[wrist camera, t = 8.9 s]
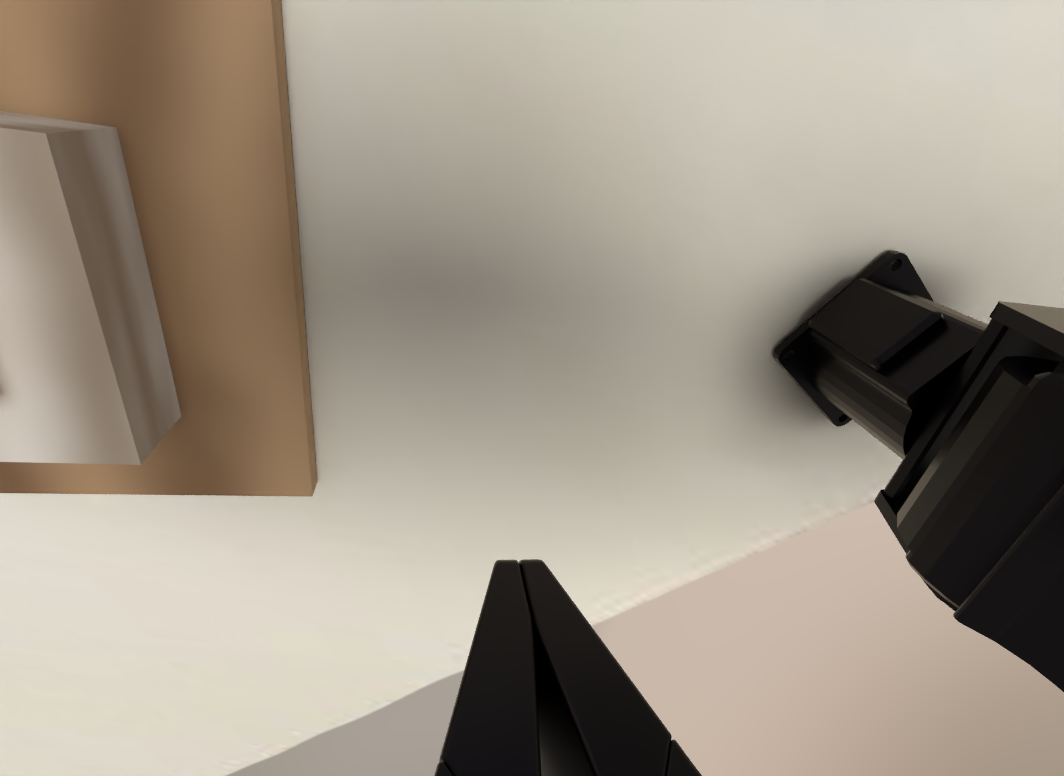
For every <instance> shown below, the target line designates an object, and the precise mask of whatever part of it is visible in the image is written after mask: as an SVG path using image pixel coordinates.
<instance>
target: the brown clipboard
mask: <svg viewBox="0 0 1064 776" xmlns="http://www.w3.org/2000/svg"><path fill="white" fill-rule="evenodd" d="M316 484H317V472H316V458H315V445H314V432H313V419H312V406H311V392H310V379H309V366H308V353H307V340H306V326H305V313H304V300H303V287H302V273H301V260H300V247H299V234H298V221H297V207H296V194H295V181H294V168H293V155H292V141H291V128H290V115H289V102H288V88H287V75H286V62H285V49H284V36H283V22H282V9H281V0H0V493H55V494H146V495H237V496H313V493H314V490H315V487H316Z"/></svg>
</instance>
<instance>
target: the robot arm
mask: <svg viewBox="0 0 1064 776" xmlns="http://www.w3.org/2000/svg"><path fill="white" fill-rule="evenodd" d="M894 260H895V262H894V264H893V265H892V266H891V264H892V262H893V261H894ZM890 266H891V267H890ZM990 317H991V318H992V319H991V321H990V323H989V324H985V323H983V322H981V321H978V320H976V319H973V318H971V317H969V316H966V315H964V314H961V313H959V312H957V311H954V310H952V309H950V308H947V307H945V306H942V305H940V304H938V303H935V302H934V301H933V300H932V298H931V296H930V294H929V293H928V291H927V289H926V288H925V286H924V284H923V283H922V281H921V279H920V277H919V276H918V274H917V272H916V271H915V269H914V267H913V266H912V264H911V262H910V260H909V259H908V257H907V256H906V255H905V254H904V253H901V252H898V251H889V252H887V253H886V254H884V255H883V256H882V257H881V258H880V259H879V260H877V261H876V262H875V263H874V264H873V265H872V266H870V267H869V268H868V269H867V270H866V271H865V272H863V273H862V274H861V275H860V276H859V277H858V278H856V279H855V280H854V281H853V282H852V283H851V284H849V285H848V286H847V287H846V288H845V289H844V290H842V291H841V292H840V293H839V294H838V295H837V296H835V297H834V298H833V299H832V300H831V301H830V302H828V303H827V304H826V305H825V306H824V307H823V308H821V309H820V310H819V311H818V312H817V313H816V314H814V315H813V316H812V317H811V318H810V319H809V320H807V321H806V322H805V323H804V324H803V325H802V326H800V327H799V328H798V329H797V330H796V331H795V332H793V333H792V334H791V335H790V336H789V337H788V338H786V339H785V340H784V341H783V342H782V343H781V344H779V345H778V346H777V348H776V349H775V351H774V358H775V360H776V361H777V362H778V363H779V364H780V365H781V366H782V368H783V369H784V370H785V371H786V372H787V373H788V374H789V375H790V377H791V378H792V379H793V380H794V381H795V382H796V383H797V384H798V386H799V387H800V388H801V389H802V390H803V391H804V392H805V393H806V395H807V396H808V397H809V398H810V399H811V400H812V401H813V402H814V404H815V405H816V406H817V407H818V408H819V409H820V410H821V411H822V413H823V414H824V415H825V416H826V417H827V418H828V419H829V420H830V421H831V422H832V423H833V424H834V425H836V426H843V425H845V424H847V423H848V422H850V421H851V420H852V419H853V420H854V421H855V422H856V423H858V424H859V425H860V426H861V427H863V428H864V429H865V430H866V431H868V432H869V433H870V434H872V435H873V436H874V437H875V438H877V439H878V440H879V441H880V442H882V443H883V444H884V445H885V446H887V447H888V448H889V449H890V450H892V451H893V452H894V453H896V454H897V455H898V456H899V457H901V458H902V459H903V461H902V462H901V464H900V465H899V467H898V469H897V470H896V472H895V473H894V475H893V477H892V478H891V480H890V481H889V483H888V484H887V486H886V488H885V489H884V490H881V491H880V492H879V494H878V495H877V497H876V499H875V500H874V502H875V504H876V505H877V507H878V508H879V510H880V512H881V513H882V515H883V517H884V518H885V520H886V521H887V523H888V525H889V526H890V528H891V530H892V531H893V533H894V534H895V536H896V538H897V539H898V541H899V543H900V544H901V546H902V547H903V549H904V551H905V552H906V558H907V560H908V562H909V564H910V566H911V567H912V568H913V569H914V570H915V571H916V572H917V573H918V575H919V576H920V577H921V578H922V579H923V581H924V582H925V583H926V585H927V586H928V587H929V589H930V590H932V592H933V593H934V594H935V595H936V597H937V598H939V599H940V600H941V601H943V602H944V603H946V604H947V605H948V606H949V607H950V608H952V609H953V610H954V611H956V612H955V613H954V617H955V619H956V620H958V621H959V622H960V623H962V624H963V625H965V626H967V627H969V628H971V629H973V630H975V631H976V632H978V633H980V634H982V635H984V636H986V637H988V638H989V639H991V640H993V641H995V642H997V643H998V644H1000V645H1001V646H1003V647H1004V648H1006V649H1007V650H1009V651H1010V652H1012V653H1013V654H1015V655H1016V656H1018V657H1019V658H1021V659H1022V660H1024V661H1025V662H1027V663H1028V664H1030V665H1031V666H1032V667H1033V668H1035V669H1036V670H1037V671H1038V672H1040V673H1041V674H1042V675H1043V676H1045V677H1046V678H1047V679H1049V680H1050V681H1051V682H1052V683H1054V684H1055V685H1056V686H1057V687H1058V688H1060V689H1061V690H1062V691H1063V692H1064V309H1063V308H1054V307H1045V306H1036V305H1028V304H1019V303H1010V302H1001V301H999V302H998V304H997V305H996V307H995V309H994V310H993V312H992V313H991V315H990ZM787 351H789V353H788V354H787V355H786V356H784V354H785V353H786V352H787ZM434 776H702V775H701V774H700V773H699V771H698V770H697V769H696V767H695V766H694V765H693V764H692V762H691V761H690V759H689V758H688V757H687V755H686V754H685V753H684V751H683V750H682V749H681V747H680V746H679V744H678V743H677V742H676V741H675V740H671V734H670V732H669V731H668V730H667V728H666V727H665V726H664V724H663V723H662V722H661V720H660V719H659V718H658V716H657V715H656V713H655V712H654V711H653V710H652V708H651V707H650V706H649V704H648V703H647V701H646V700H645V699H644V697H643V696H642V695H641V693H640V692H639V691H638V689H637V688H636V686H635V685H634V684H633V682H632V681H631V680H630V678H629V677H628V676H627V674H626V673H625V672H624V670H623V669H622V667H621V666H620V665H619V663H618V662H617V661H616V659H615V658H614V657H613V655H612V654H611V653H610V651H609V650H608V648H607V647H606V646H605V644H604V643H603V642H602V640H601V639H600V638H599V636H598V635H597V634H596V633H595V631H594V629H593V628H592V627H591V625H590V624H589V623H588V621H587V620H586V619H585V617H584V616H583V614H582V613H581V612H580V610H579V609H578V608H577V606H576V605H575V604H574V602H573V601H572V600H571V598H570V597H569V595H568V594H567V593H566V591H565V590H564V589H563V587H562V586H561V585H560V583H559V582H558V581H557V579H556V578H555V576H554V575H553V574H552V572H551V571H550V570H549V568H548V567H547V566H546V564H545V563H544V562H543V561H542V560H538V559H533V560H521V561H519V563H518V561H517V560H497V561H496V562H495V564H494V567H493V571H492V574H491V578H490V581H489V585H488V589H487V592H486V596H485V599H484V603H483V606H482V610H481V613H480V617H479V620H478V624H477V628H476V631H475V635H474V638H473V642H472V645H471V649H470V652H469V656H468V659H467V663H466V667H465V670H464V674H463V677H462V681H461V684H460V688H459V692H458V695H457V699H456V702H455V706H454V709H453V713H452V716H451V720H450V723H449V727H448V730H447V734H446V738H445V741H444V745H443V748H442V752H441V755H440V762H439V763H438V765H437V769H436V772H435V775H434Z"/></svg>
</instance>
